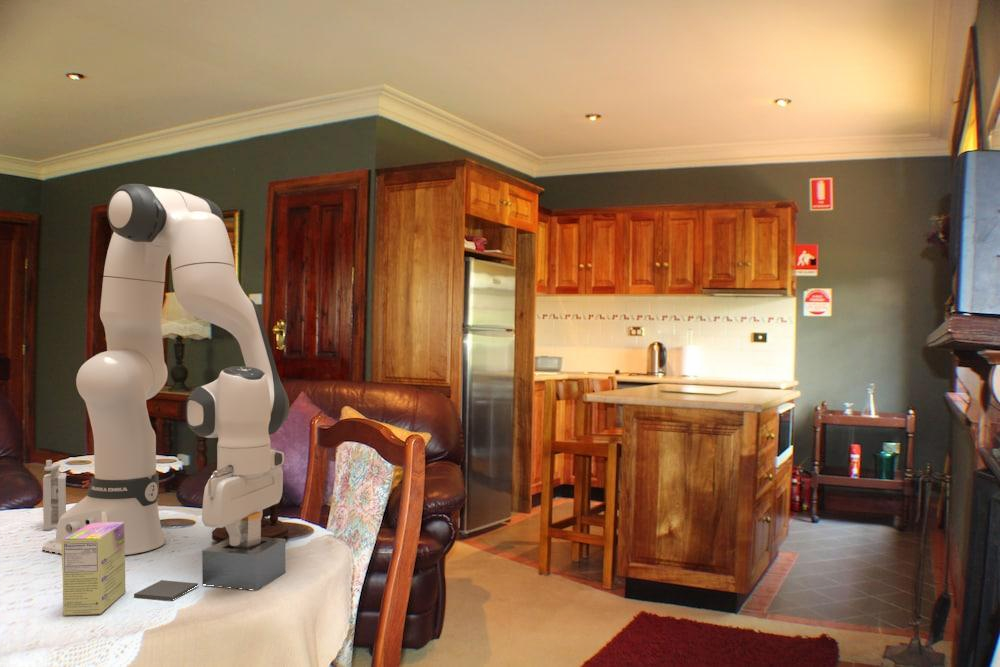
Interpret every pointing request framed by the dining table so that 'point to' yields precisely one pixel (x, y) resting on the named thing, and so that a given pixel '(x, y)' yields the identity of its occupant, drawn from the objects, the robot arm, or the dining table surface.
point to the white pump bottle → (53, 495)
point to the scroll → (268, 526)
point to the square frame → (243, 564)
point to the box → (93, 568)
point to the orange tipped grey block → (250, 532)
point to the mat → (165, 590)
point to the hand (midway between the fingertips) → (244, 540)
